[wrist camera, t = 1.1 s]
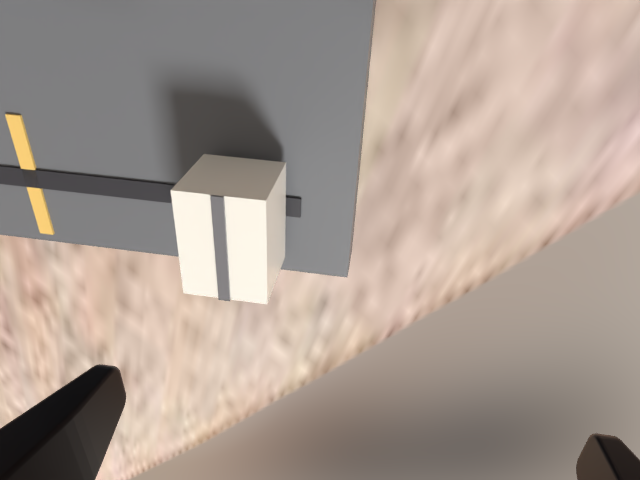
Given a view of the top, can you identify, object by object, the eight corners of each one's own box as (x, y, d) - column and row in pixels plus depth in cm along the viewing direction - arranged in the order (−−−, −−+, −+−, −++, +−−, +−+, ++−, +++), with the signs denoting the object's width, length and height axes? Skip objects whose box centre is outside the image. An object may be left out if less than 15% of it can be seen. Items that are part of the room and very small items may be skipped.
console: (399, -241, 13) (398, -267, 12) (351, 251, 22) (347, 278, 20) (-189, -253, 15) (-267, -278, 13) (-23, 207, 24) (-57, 228, 22)
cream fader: (286, 162, 17) (265, 202, 15) (285, 256, 20) (266, 306, 17) (203, 154, 18) (168, 191, 15) (211, 247, 20) (182, 294, 17)
